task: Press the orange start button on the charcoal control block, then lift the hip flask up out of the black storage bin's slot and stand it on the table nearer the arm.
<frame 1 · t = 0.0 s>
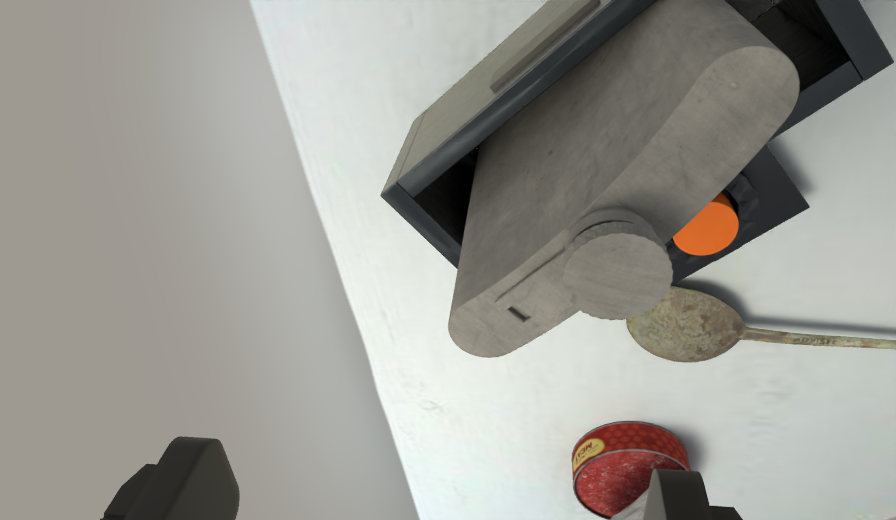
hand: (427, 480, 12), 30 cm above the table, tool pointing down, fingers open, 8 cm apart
black storage bin: (593, 69, 37), on the table
canned food: (628, 457, 55), on the table
hip flask: (577, 78, 37), resting in black storage bin
control panel: (687, 186, 40), on the table
start button: (701, 221, 36), point 4 cm above the table, slide at 0.1 cm
soupspoon: (780, 322, 45), on the table
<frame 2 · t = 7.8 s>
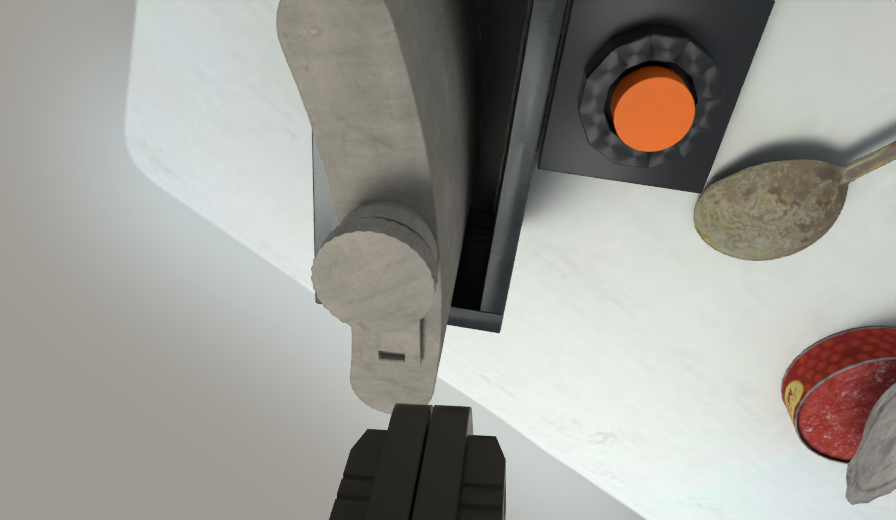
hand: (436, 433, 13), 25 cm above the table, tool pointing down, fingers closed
black storage bin: (453, 52, 34), on the table
canned food: (859, 379, 43), on the table
hip flask: (450, 70, 34), resting in black storage bin
control panel: (639, 79, 33), on the table
start button: (651, 109, 29), point 4 cm above the table, slide at 0.1 cm
soupspoon: (893, 131, 33), on the table
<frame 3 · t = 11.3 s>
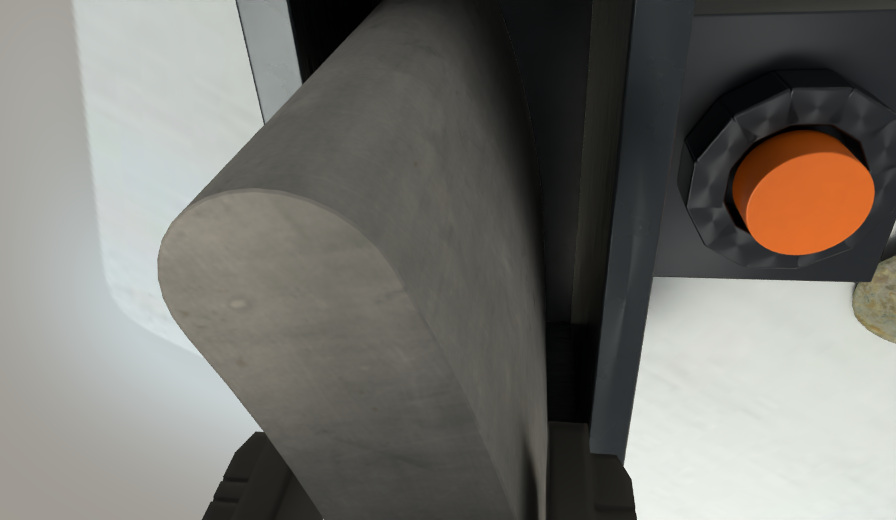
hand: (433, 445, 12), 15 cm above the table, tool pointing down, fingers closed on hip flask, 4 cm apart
black storage bin: (493, 138, 25), on the table
hip flask: (492, 159, 26), resting in black storage bin, touching gripper
control panel: (759, 137, 23), on the table
start button: (799, 193, 20), point 4 cm above the table, slide at 0.1 cm
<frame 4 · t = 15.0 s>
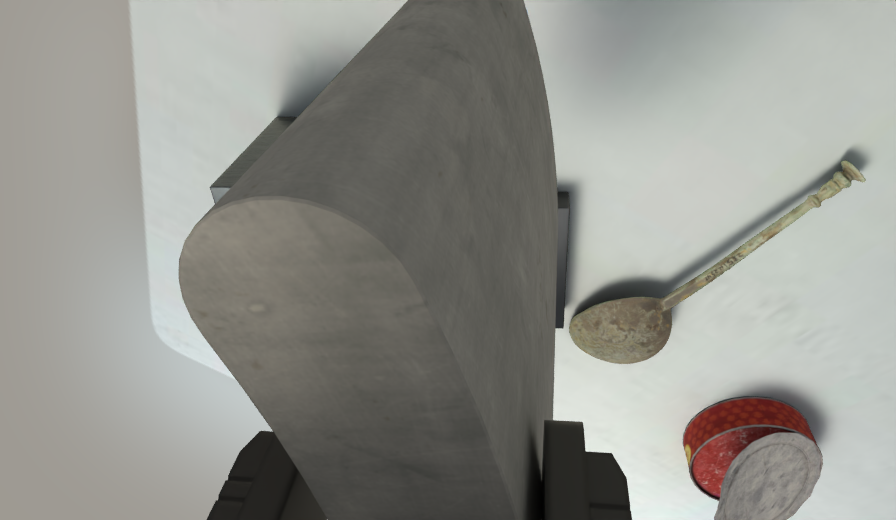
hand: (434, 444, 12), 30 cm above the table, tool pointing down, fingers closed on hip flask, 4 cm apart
black storage bin: (366, 251, 46), on the table
canned food: (744, 436, 52), on the table
hip flask: (509, 161, 25), point 14 cm above the table, touching gripper
control panel: (501, 253, 45), on the table
soupspoon: (698, 265, 44), on the table
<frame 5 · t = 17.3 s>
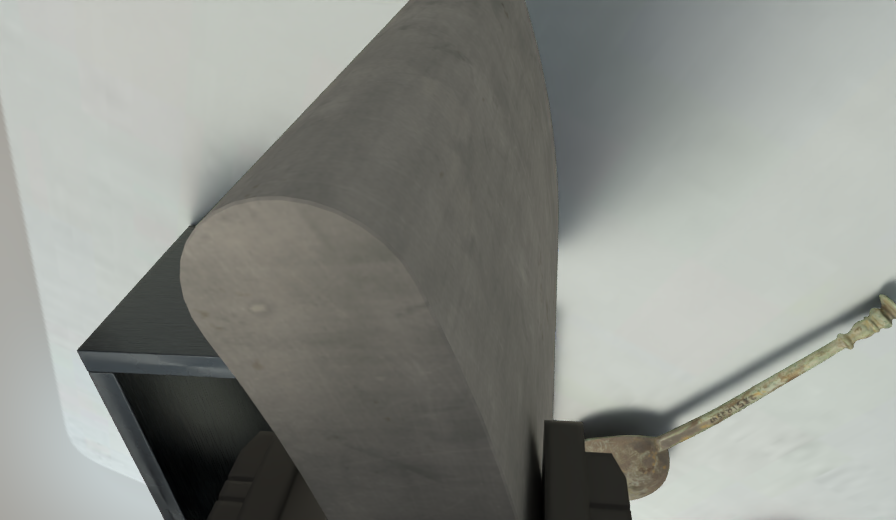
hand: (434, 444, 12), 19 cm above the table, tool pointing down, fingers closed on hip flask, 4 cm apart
black storage bin: (307, 370, 39), on the table
hip flask: (510, 161, 25), point 4 cm above the table, touching gripper
soupspoon: (702, 397, 36), on the table
when the fingers open (15 cm above the table, at t = 18.7 s): hip flask stays where it is, on the table.
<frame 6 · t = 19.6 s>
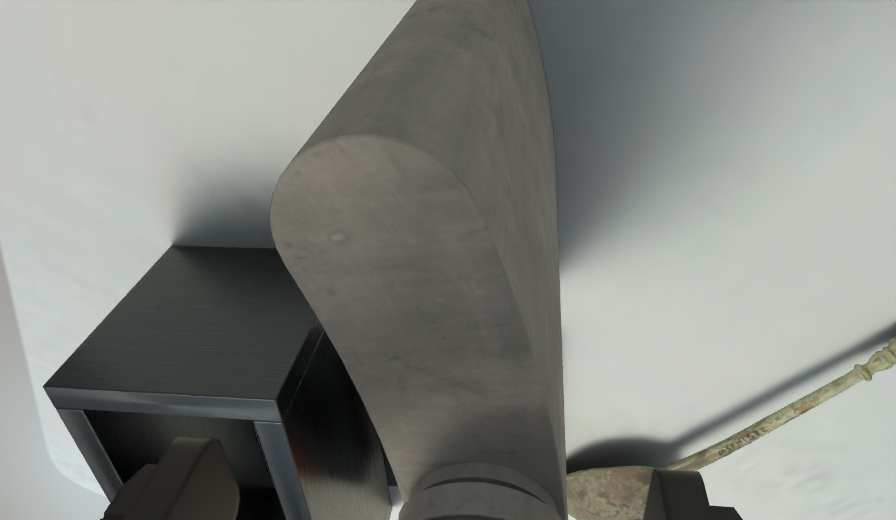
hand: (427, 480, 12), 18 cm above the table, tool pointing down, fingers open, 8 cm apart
black storage bin: (296, 395, 37), on the table
hip flask: (510, 145, 27), on the table
soupspoon: (709, 426, 35), on the table
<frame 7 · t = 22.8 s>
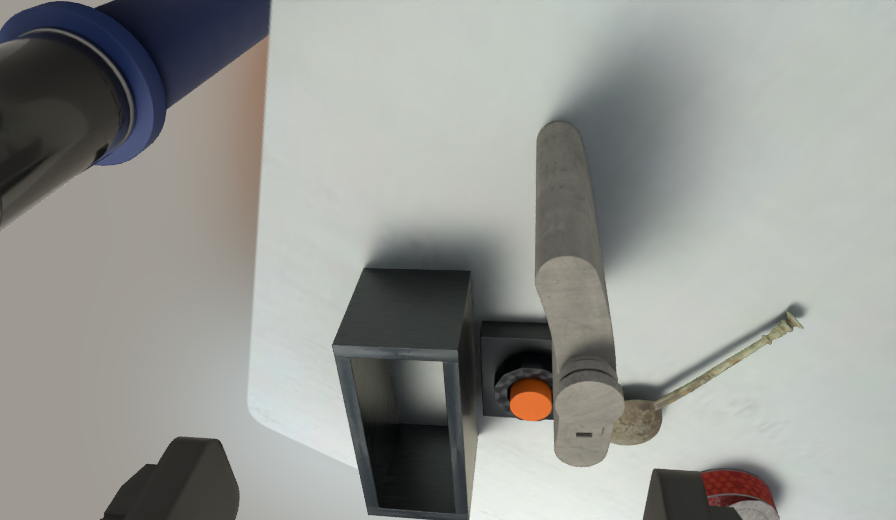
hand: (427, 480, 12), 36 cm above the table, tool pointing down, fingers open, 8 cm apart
black storage bin: (425, 359, 60), on the table
canned food: (720, 497, 66), on the table
hip flask: (570, 215, 49), on the table
control panel: (531, 363, 58), on the table
start button: (530, 399, 55), point 4 cm above the table, slide at 0.1 cm
soupspoon: (682, 375, 57), on the table
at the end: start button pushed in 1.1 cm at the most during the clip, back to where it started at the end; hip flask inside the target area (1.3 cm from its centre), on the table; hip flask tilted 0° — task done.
